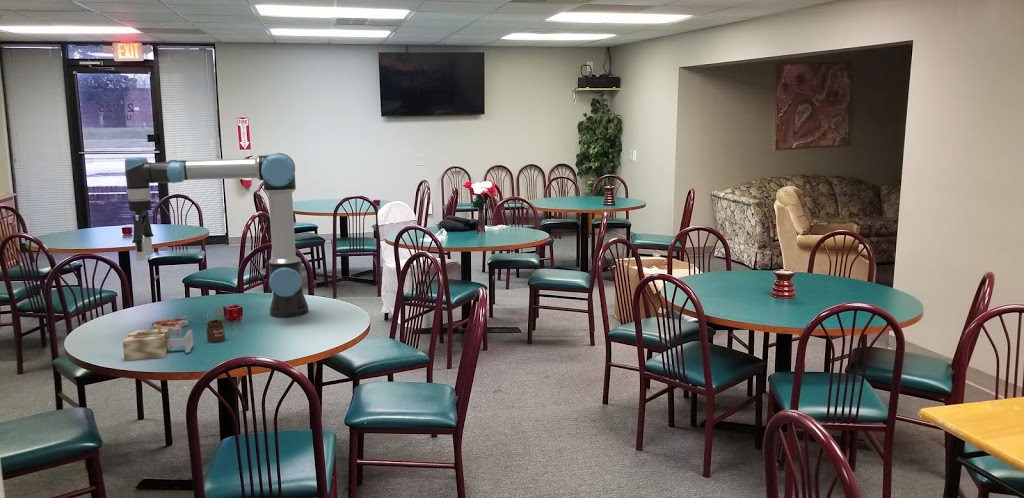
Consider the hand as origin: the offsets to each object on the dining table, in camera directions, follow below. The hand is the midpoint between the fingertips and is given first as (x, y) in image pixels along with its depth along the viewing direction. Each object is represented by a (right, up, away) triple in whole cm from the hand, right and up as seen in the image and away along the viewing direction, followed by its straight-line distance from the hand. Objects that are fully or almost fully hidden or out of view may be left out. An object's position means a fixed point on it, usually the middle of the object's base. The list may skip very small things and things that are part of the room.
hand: (145, 257), depth 284 cm
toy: (+7, -28, +7) cm, 30 cm away
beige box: (+12, -32, -24) cm, 42 cm away
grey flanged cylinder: (+19, -31, -22) cm, 43 cm away
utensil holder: (+30, -30, -9) cm, 43 cm away
